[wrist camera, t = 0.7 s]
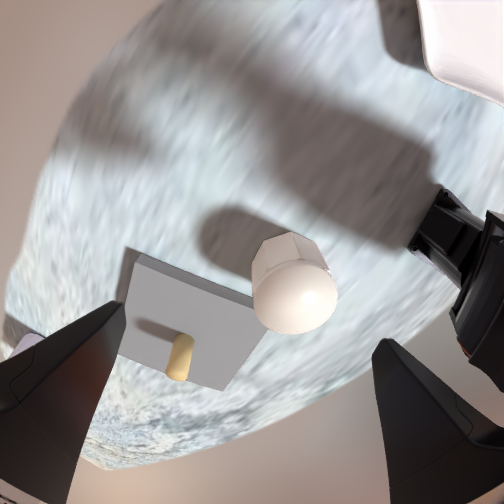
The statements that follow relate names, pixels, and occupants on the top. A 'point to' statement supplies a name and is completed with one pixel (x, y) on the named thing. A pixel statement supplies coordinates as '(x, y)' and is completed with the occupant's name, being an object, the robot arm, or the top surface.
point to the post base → (187, 325)
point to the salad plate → (465, 44)
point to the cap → (292, 285)
